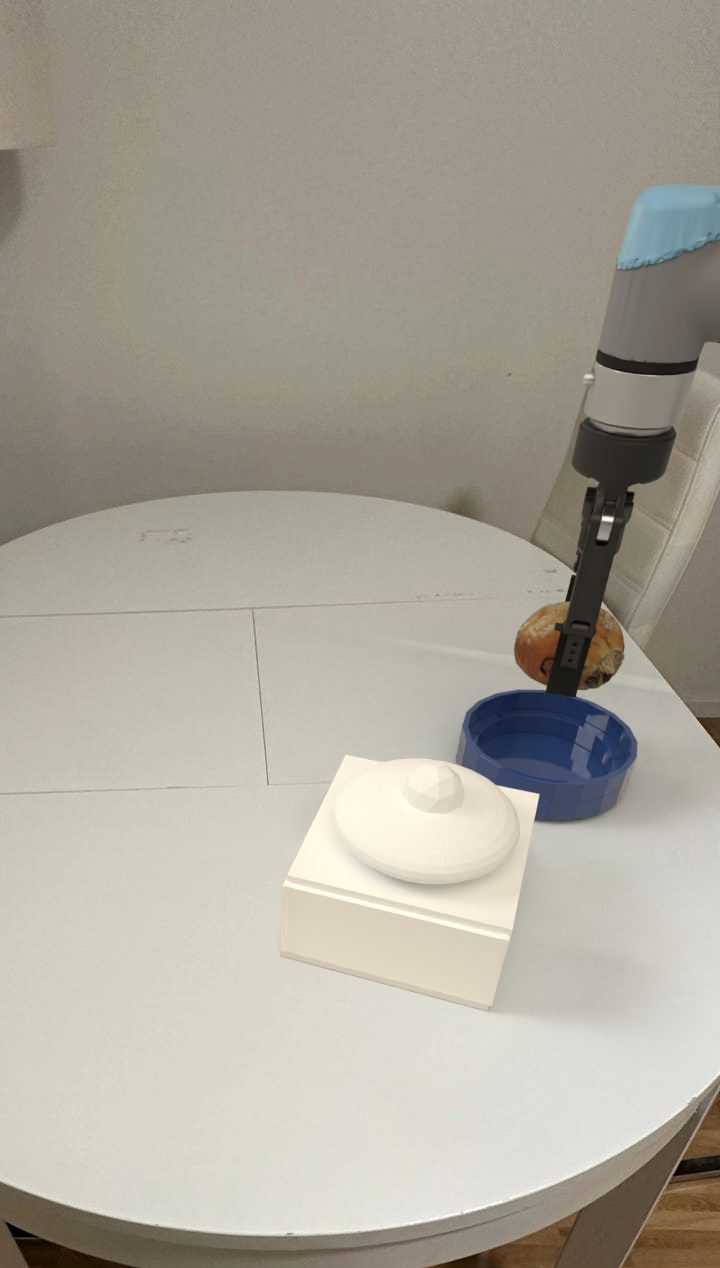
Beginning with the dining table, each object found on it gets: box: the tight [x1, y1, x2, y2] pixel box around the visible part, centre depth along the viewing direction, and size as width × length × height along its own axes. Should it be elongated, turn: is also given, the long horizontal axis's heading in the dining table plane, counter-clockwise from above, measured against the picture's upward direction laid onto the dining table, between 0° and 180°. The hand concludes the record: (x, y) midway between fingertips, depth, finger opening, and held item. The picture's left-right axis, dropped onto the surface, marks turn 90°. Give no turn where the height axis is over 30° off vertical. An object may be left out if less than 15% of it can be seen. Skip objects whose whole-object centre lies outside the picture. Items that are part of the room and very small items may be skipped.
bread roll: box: [513, 601, 626, 691], centre depth 87 cm, size 10×10×8 cm
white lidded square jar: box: [279, 754, 539, 1012], centre depth 76 cm, size 18×18×16 cm
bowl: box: [455, 689, 639, 821], centre depth 95 cm, size 17×17×5 cm
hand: (565, 665), depth 88 cm, fingers closed on bread roll, 10 cm apart
